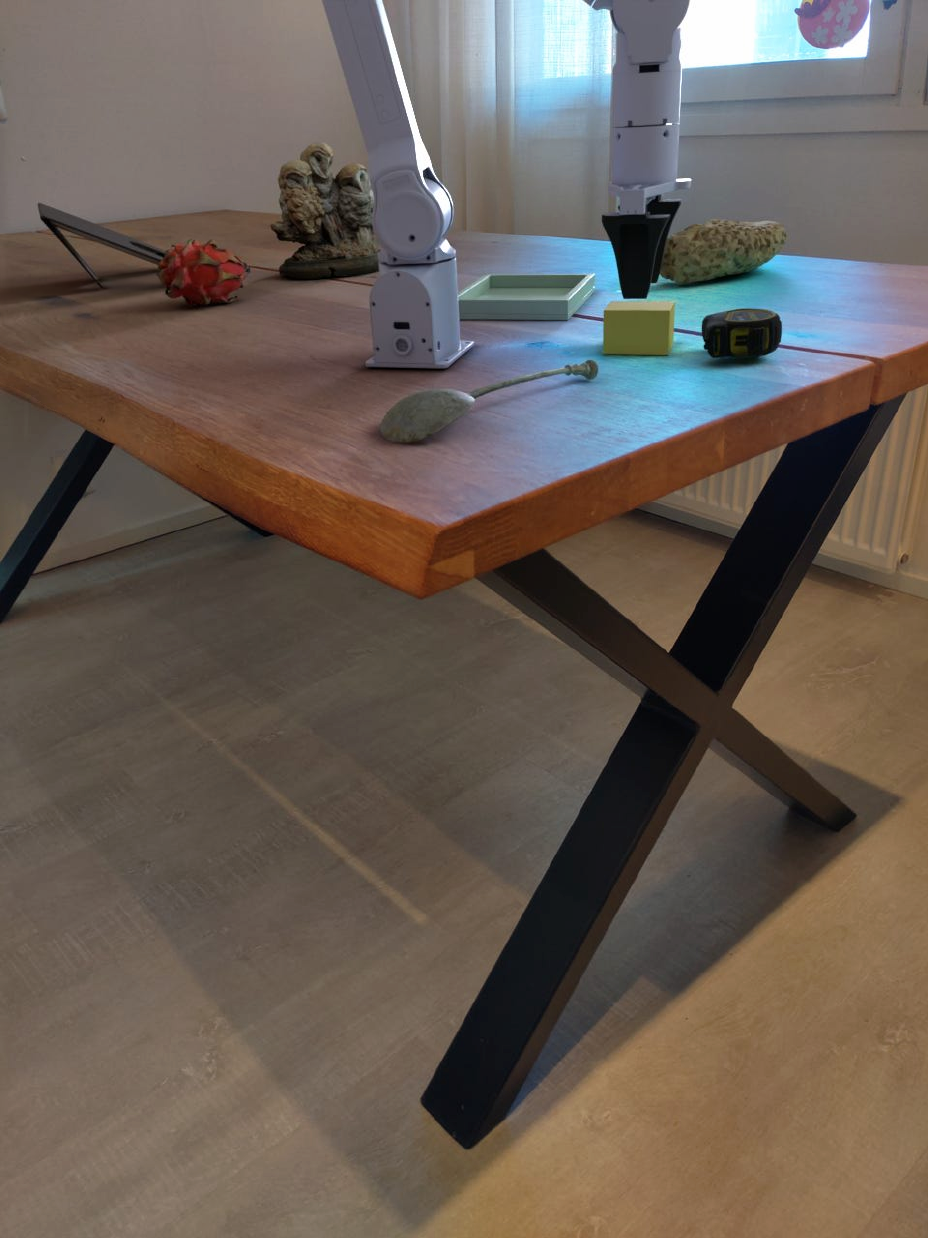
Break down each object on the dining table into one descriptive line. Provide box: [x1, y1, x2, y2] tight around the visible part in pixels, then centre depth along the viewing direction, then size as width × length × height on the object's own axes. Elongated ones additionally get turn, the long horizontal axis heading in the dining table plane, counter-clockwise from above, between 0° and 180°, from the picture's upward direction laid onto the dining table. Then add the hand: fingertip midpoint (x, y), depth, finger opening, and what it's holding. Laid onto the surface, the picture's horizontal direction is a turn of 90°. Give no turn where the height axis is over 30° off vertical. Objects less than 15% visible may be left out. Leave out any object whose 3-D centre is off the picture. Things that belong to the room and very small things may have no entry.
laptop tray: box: [37, 202, 166, 289], centre depth 146 cm, size 23×23×9 cm
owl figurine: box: [269, 141, 382, 280], centre depth 142 cm, size 18×12×17 cm, turn 125°
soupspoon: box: [379, 359, 599, 444], centre depth 79 cm, size 22×3×7 cm
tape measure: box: [701, 307, 783, 359], centre depth 89 cm, size 7×7×4 cm
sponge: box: [659, 218, 787, 285], centre depth 126 cm, size 13×8×20 cm
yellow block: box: [602, 300, 676, 356], centre depth 94 cm, size 4×6×4 cm
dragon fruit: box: [156, 238, 251, 308], centre depth 126 cm, size 8×8×12 cm
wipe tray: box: [458, 273, 596, 321], centre depth 116 cm, size 17×14×2 cm
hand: (640, 290), depth 92 cm, fingers open, 7 cm apart
